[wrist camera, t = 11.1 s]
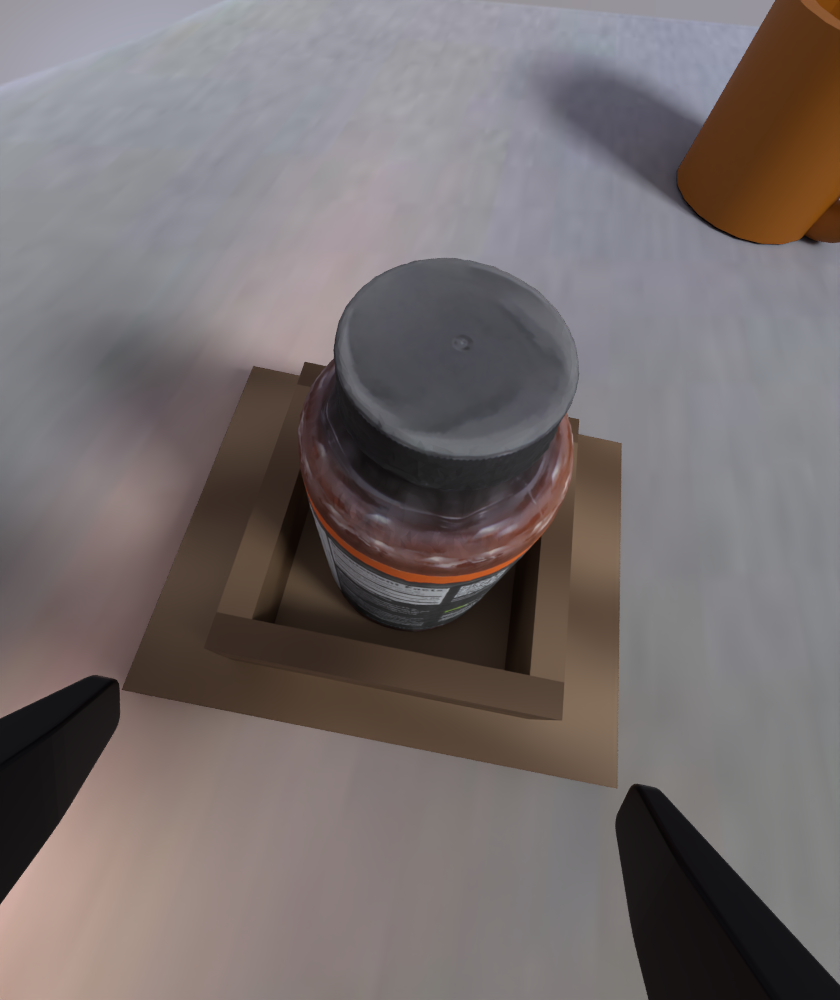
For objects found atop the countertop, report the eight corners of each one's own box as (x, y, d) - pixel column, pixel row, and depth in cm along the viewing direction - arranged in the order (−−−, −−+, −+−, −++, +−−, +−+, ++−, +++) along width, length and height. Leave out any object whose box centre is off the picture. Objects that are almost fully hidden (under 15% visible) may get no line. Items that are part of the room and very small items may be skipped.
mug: (792, 303, 27) (977, 123, 19) (646, 173, 31) (748, -27, 22) (883, 251, 30) (1081, 74, 21) (739, 137, 33) (862, -54, 25)
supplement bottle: (394, 453, 20) (421, 165, 9) (518, 538, 19) (703, 324, 8) (293, 568, 17) (183, 357, 7) (428, 672, 16) (530, 604, 6)
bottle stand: (603, 784, 17) (670, 804, 13) (135, 691, 16) (68, 684, 13) (610, 454, 22) (659, 402, 18) (258, 380, 22) (235, 313, 18)
